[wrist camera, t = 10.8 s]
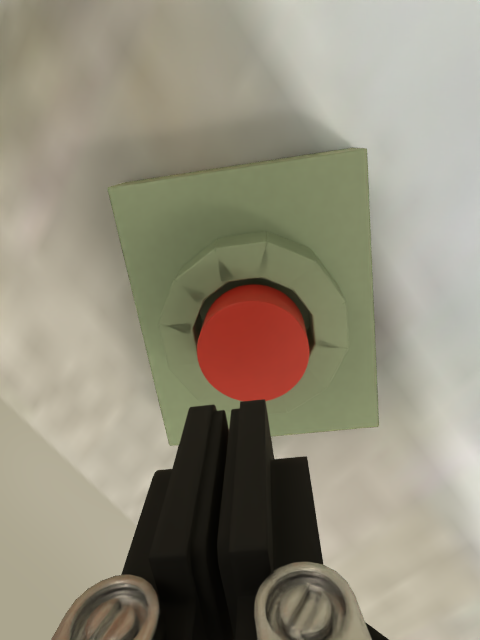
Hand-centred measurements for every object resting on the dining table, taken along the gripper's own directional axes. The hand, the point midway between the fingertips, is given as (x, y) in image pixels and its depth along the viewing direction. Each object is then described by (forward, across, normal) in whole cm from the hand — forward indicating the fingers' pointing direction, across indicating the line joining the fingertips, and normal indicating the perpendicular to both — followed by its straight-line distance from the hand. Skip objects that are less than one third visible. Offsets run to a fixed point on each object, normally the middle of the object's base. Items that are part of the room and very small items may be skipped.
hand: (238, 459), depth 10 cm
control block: (+10, 0, 0) cm, 10 cm away
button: (+7, 0, 0) cm, 7 cm away
